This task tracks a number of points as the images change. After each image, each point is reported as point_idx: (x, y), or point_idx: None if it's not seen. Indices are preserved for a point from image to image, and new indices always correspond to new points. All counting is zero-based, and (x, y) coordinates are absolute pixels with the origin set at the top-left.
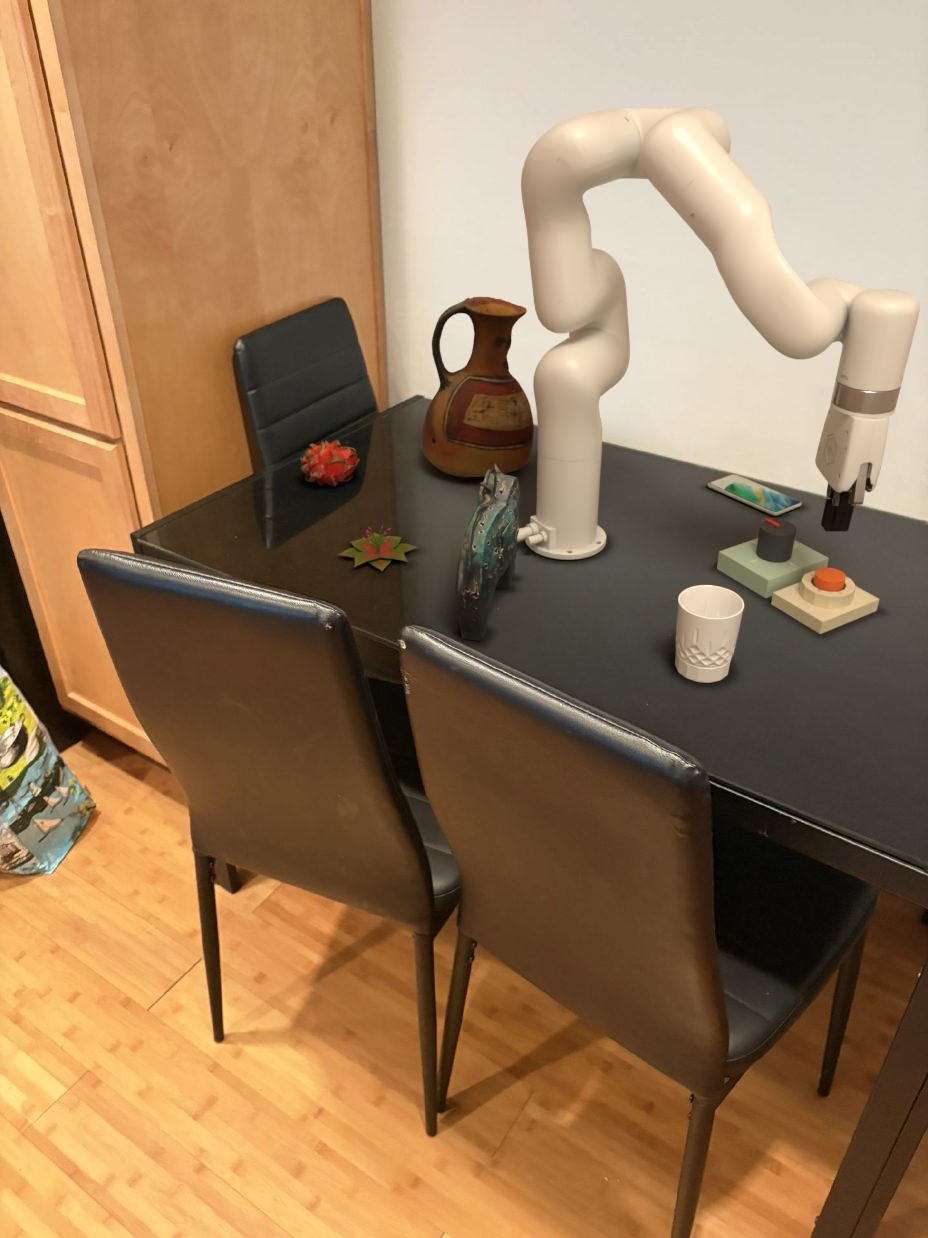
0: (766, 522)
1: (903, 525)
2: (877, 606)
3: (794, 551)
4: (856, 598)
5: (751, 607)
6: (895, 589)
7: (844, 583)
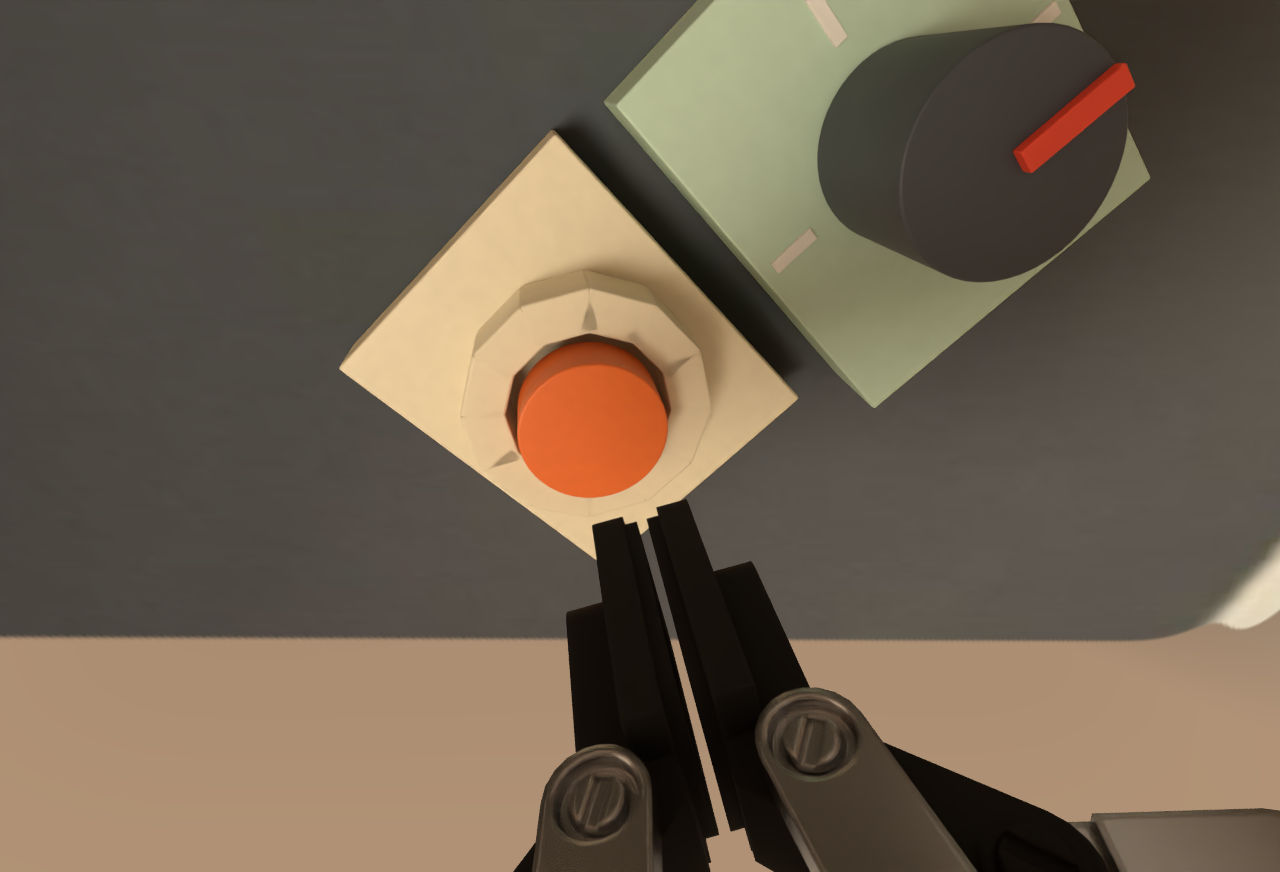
0: (1087, 74)
1: (1167, 606)
2: None
3: None
4: None
5: (497, 19)
6: None
7: None
